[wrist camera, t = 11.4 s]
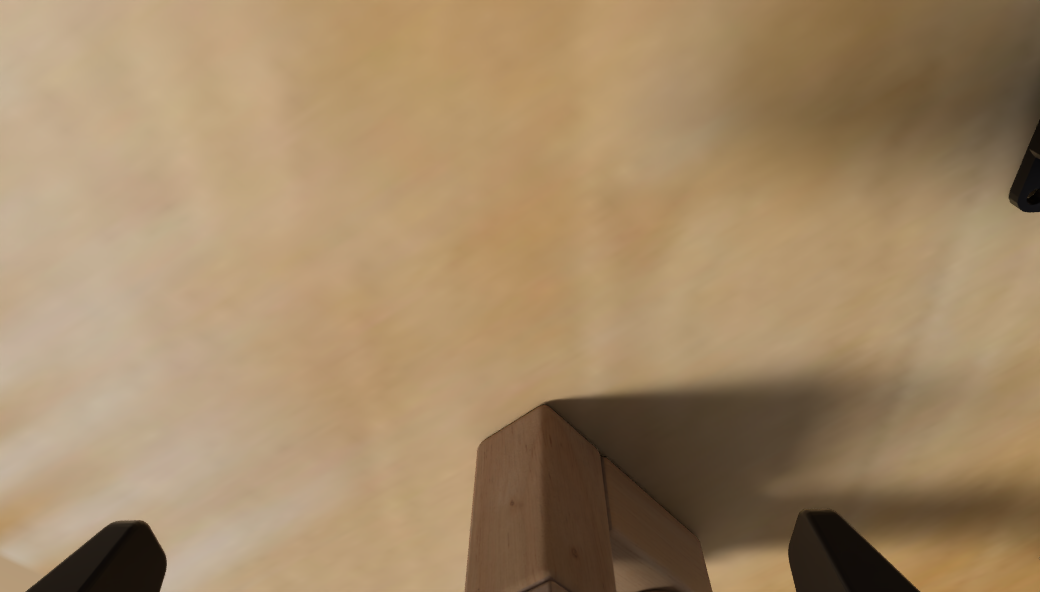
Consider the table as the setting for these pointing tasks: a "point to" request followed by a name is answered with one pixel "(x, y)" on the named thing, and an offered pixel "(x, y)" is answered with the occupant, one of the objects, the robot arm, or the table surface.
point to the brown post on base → (570, 519)
